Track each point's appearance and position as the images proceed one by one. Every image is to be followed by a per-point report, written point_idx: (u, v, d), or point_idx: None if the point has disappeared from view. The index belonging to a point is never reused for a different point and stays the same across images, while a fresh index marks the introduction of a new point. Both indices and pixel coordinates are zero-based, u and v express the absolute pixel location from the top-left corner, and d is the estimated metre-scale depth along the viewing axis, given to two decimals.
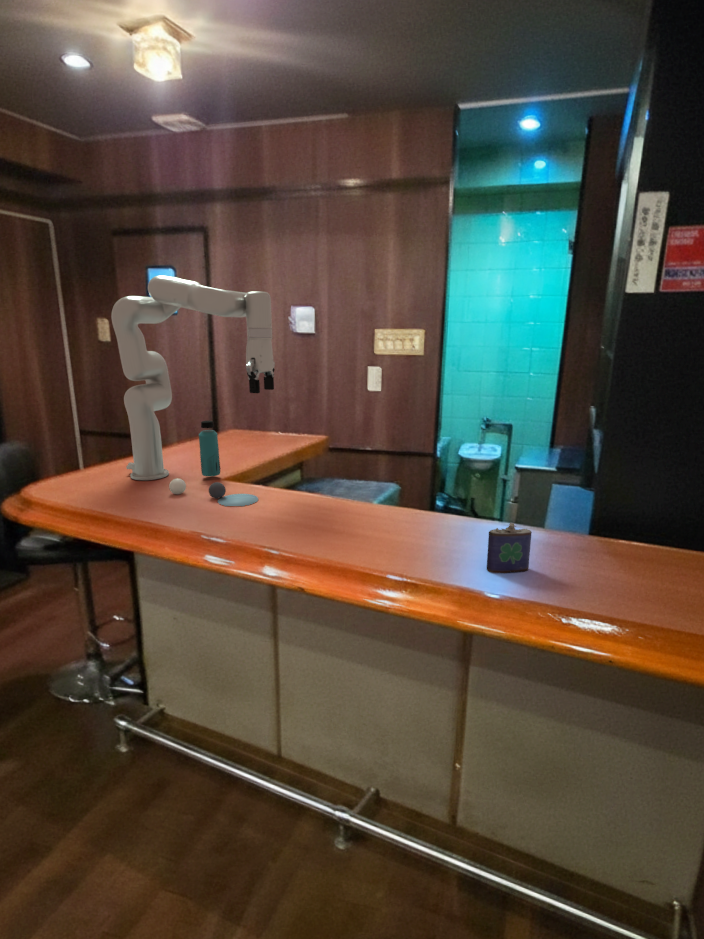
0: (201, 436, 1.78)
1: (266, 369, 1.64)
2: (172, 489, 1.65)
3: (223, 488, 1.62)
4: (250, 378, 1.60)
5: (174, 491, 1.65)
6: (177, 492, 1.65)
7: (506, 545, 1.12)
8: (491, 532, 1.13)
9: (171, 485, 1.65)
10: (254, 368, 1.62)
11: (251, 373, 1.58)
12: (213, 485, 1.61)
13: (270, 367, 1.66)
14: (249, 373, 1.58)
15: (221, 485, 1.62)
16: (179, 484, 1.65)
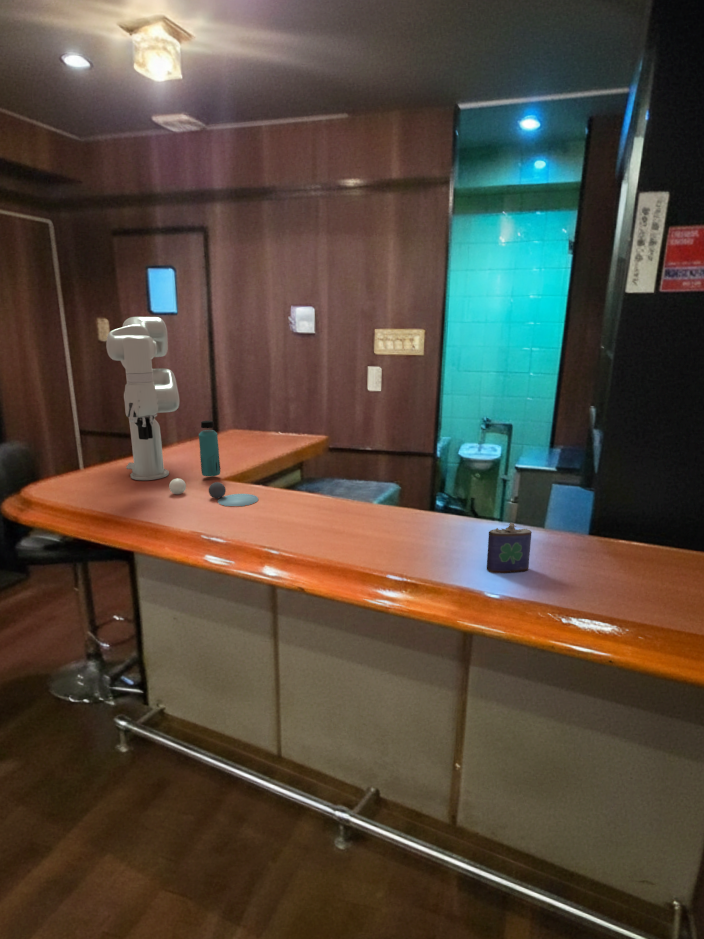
0: (201, 436, 1.78)
1: (147, 413, 1.63)
2: (172, 489, 1.65)
3: (223, 488, 1.62)
4: (138, 425, 1.63)
5: (174, 491, 1.65)
6: (177, 492, 1.65)
7: (506, 545, 1.12)
8: (491, 532, 1.13)
9: (171, 485, 1.65)
10: None
11: (137, 421, 1.61)
12: (213, 485, 1.61)
13: (154, 411, 1.65)
14: (136, 422, 1.61)
15: (221, 485, 1.62)
16: (179, 484, 1.65)
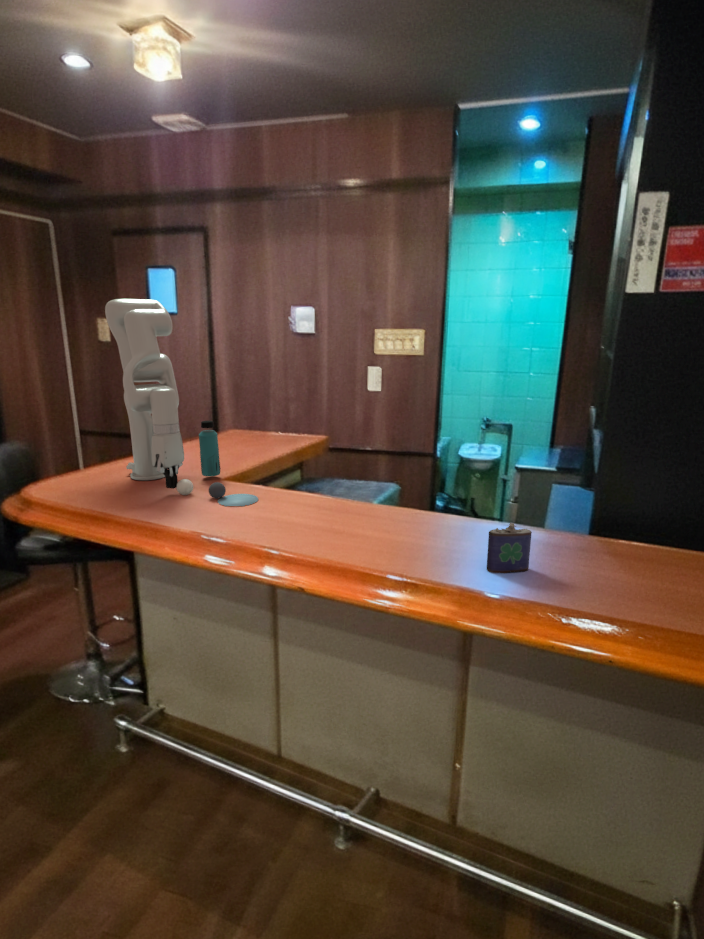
0: (201, 436, 1.78)
1: (174, 463, 1.63)
2: (179, 490, 1.64)
3: (223, 488, 1.62)
4: (165, 475, 1.64)
5: (181, 492, 1.64)
6: (184, 493, 1.65)
7: (506, 545, 1.12)
8: (491, 532, 1.13)
9: (179, 485, 1.64)
10: None
11: (165, 471, 1.62)
12: (213, 485, 1.61)
13: (180, 460, 1.66)
14: (164, 472, 1.62)
15: (221, 485, 1.62)
16: (187, 486, 1.64)
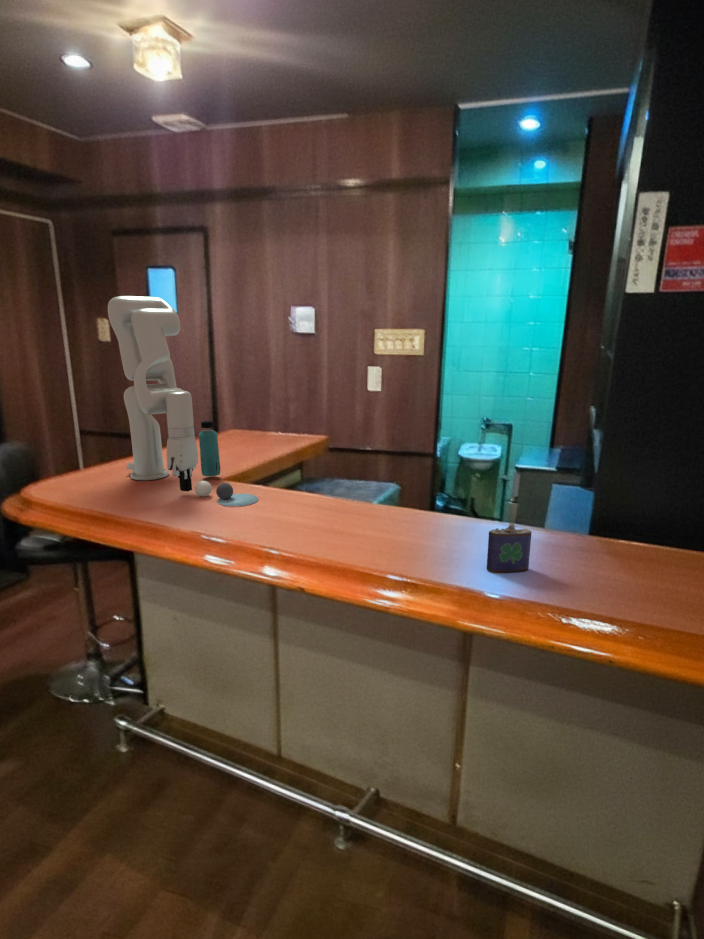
0: (201, 436, 1.78)
1: (188, 466, 1.63)
2: (198, 489, 1.62)
3: (230, 496, 1.62)
4: (180, 478, 1.63)
5: (196, 489, 1.62)
6: (195, 491, 1.63)
7: (506, 545, 1.12)
8: (491, 532, 1.13)
9: (202, 490, 1.62)
10: None
11: (180, 474, 1.61)
12: (226, 489, 1.60)
13: (194, 463, 1.66)
14: (178, 475, 1.62)
15: (231, 493, 1.61)
16: (201, 496, 1.63)
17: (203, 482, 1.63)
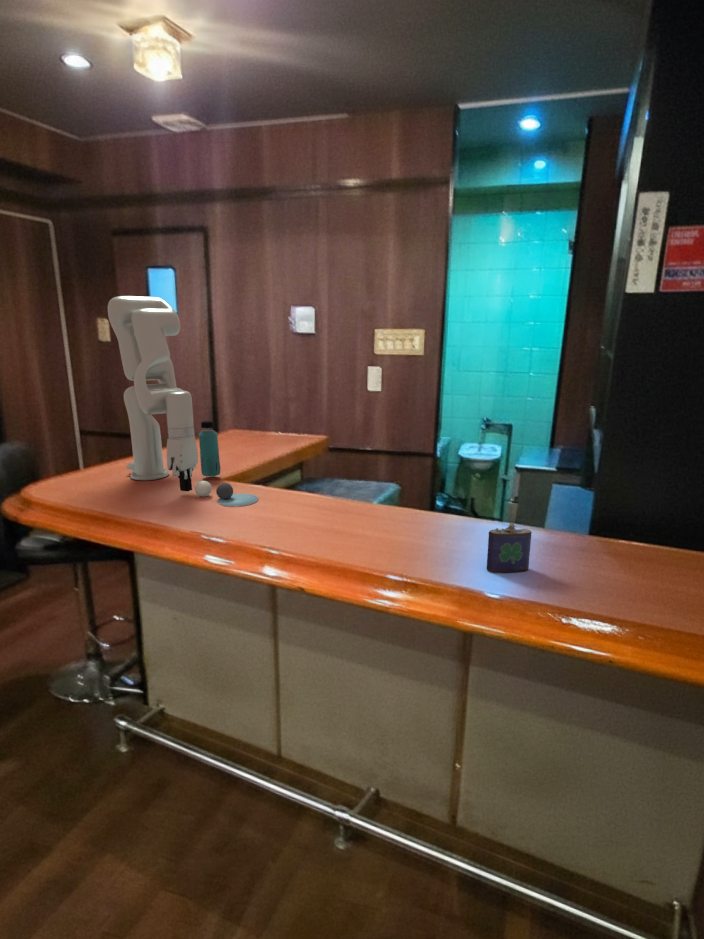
0: (201, 436, 1.78)
1: (188, 466, 1.63)
2: (198, 489, 1.62)
3: (230, 496, 1.62)
4: (180, 478, 1.63)
5: (196, 489, 1.62)
6: (195, 491, 1.63)
7: (506, 545, 1.12)
8: (491, 532, 1.13)
9: (202, 490, 1.62)
10: None
11: (180, 474, 1.61)
12: (226, 489, 1.60)
13: (194, 463, 1.66)
14: (178, 475, 1.62)
15: (231, 494, 1.61)
16: (201, 496, 1.63)
17: (203, 482, 1.63)
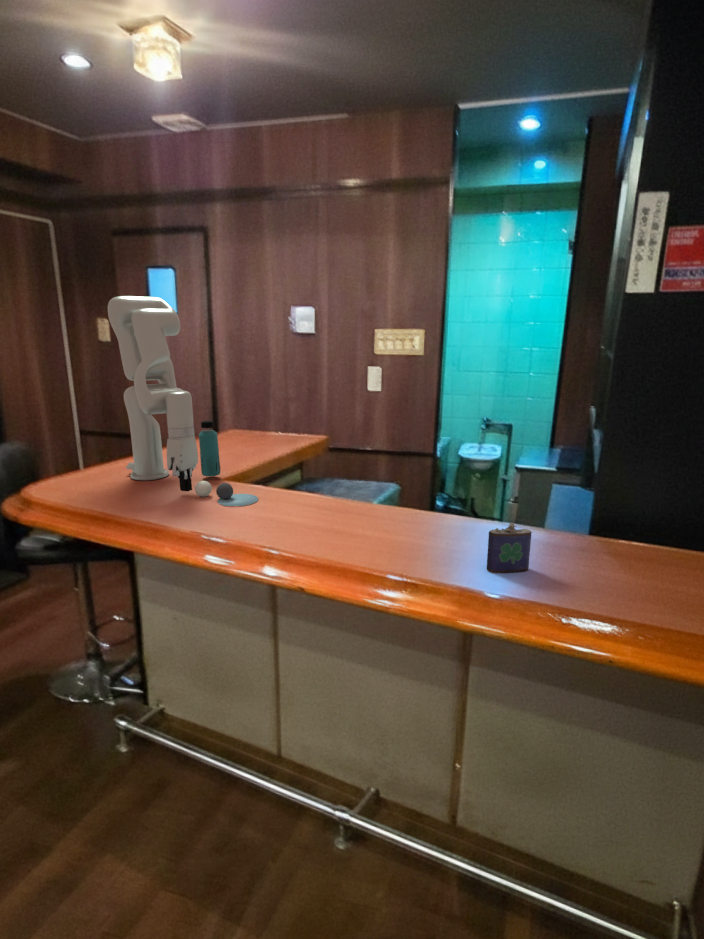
0: (201, 436, 1.78)
1: (188, 466, 1.63)
2: (198, 489, 1.62)
3: (230, 496, 1.62)
4: (180, 478, 1.63)
5: (196, 489, 1.62)
6: (195, 491, 1.63)
7: (506, 545, 1.12)
8: (491, 532, 1.13)
9: (202, 490, 1.62)
10: None
11: (180, 474, 1.61)
12: (226, 489, 1.60)
13: (194, 463, 1.66)
14: (178, 475, 1.62)
15: (231, 494, 1.61)
16: (201, 496, 1.63)
17: (203, 482, 1.63)
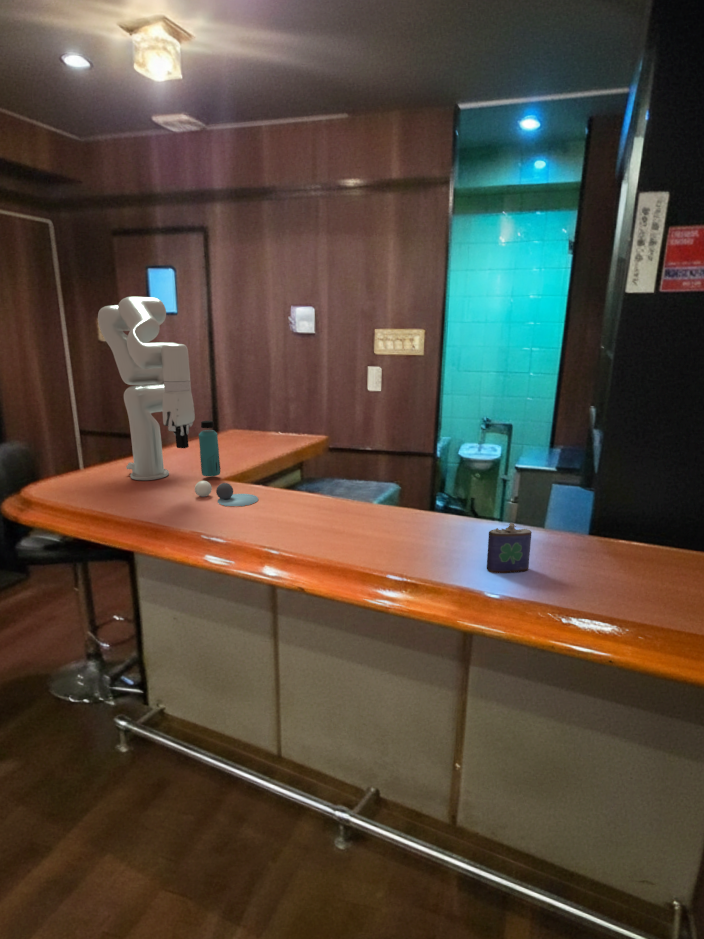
0: (201, 436, 1.78)
1: (185, 422, 1.59)
2: (198, 489, 1.62)
3: (230, 496, 1.62)
4: (176, 434, 1.60)
5: (196, 489, 1.62)
6: (195, 491, 1.63)
7: (506, 545, 1.12)
8: (491, 532, 1.13)
9: (202, 490, 1.62)
10: None
11: (176, 429, 1.58)
12: (226, 489, 1.60)
13: (191, 419, 1.62)
14: (175, 431, 1.58)
15: (231, 494, 1.61)
16: (201, 496, 1.63)
17: (203, 482, 1.63)
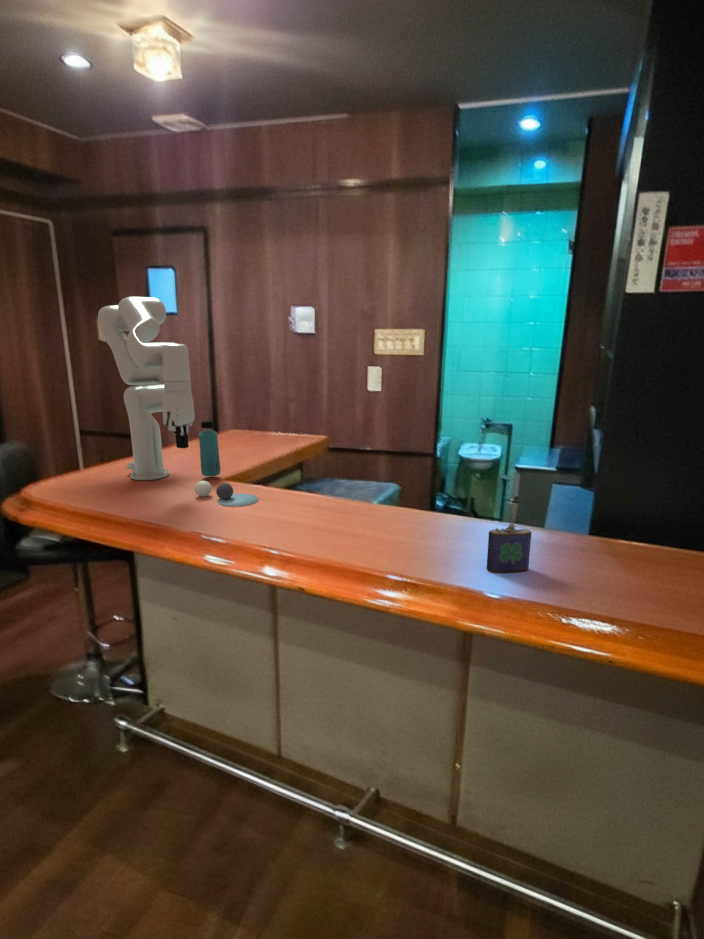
0: (201, 436, 1.78)
1: (185, 422, 1.59)
2: (198, 489, 1.62)
3: (230, 496, 1.62)
4: (176, 434, 1.60)
5: (196, 489, 1.62)
6: (195, 491, 1.63)
7: (506, 545, 1.12)
8: (491, 532, 1.13)
9: (202, 490, 1.62)
10: None
11: (176, 429, 1.58)
12: (226, 489, 1.60)
13: (191, 419, 1.62)
14: (175, 431, 1.58)
15: (231, 494, 1.61)
16: (201, 496, 1.63)
17: (203, 482, 1.63)
